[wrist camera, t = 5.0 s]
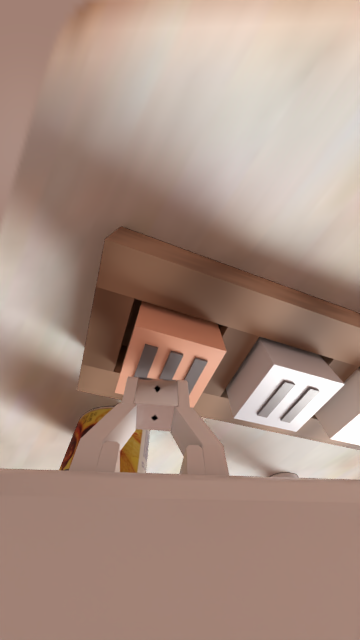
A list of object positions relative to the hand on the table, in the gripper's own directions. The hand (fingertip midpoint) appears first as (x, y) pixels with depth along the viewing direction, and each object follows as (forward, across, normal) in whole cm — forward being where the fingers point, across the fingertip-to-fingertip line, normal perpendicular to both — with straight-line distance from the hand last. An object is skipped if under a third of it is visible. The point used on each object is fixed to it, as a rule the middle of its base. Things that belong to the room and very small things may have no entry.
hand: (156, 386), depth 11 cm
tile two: (+4, -8, +2) cm, 9 cm away
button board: (+7, -8, +2) cm, 11 cm away
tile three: (+4, -1, 0) cm, 4 cm away
